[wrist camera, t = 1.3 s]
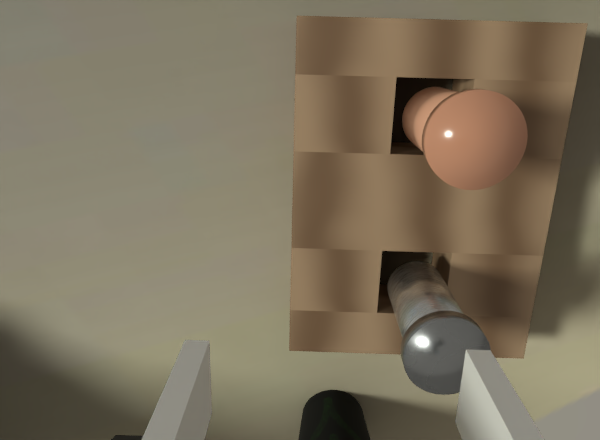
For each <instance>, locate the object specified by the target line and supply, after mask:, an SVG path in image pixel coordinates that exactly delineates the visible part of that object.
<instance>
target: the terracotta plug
mask: <svg viewBox="0 0 600 440" xmlns="http://www.w3.org/2000/svg"><path fill="white" fill-rule="evenodd" d="M402 125H403V130H404V132H405V134H406V136H407V138H408V139H409V140H410V141H411V142H412V143H413V144H414V145H415V146H417V147H418V148H419V149H420V150H421V151H422V152H423V154H424V157H425V160H426V162H427V164H428V166H429V167H430V168H431V170H432V171H433V172H434V173H435V174H436V175H437V176H438V177H439V178H440V179H441V180H443V181H444V182H445V183H447V184H449V185H451V186H453V187H456V188H459V189H463V190H479V189H484V188H488V187H491V186H493V185H495V184H497V183H499V182H501V181H502V180H504V179H505V178H506V177H508V176H509V175H510V174H511V173H512V172H513V171H514V169H515V168H516V167H517V166H518V164H519V163H520V161H521V159H522V157H523V155H524V152H525V149H526V145H527V137H528V134H527V125H526V121H525V118H524V116H523V114H522V112H521V110H520V109H519V107H518V106H517V105H516V104H515V103H514V102H513V101H512V100H511V99H509V98H508V97H506V96H504V95H503V94H500V93H498V92H494V91H490V90H485V89H466V90H462V91H459V92H458V91H454V90H450V89H446V88H442V87H429V88H425V89H423V90H421V91H419V92H417V93H416V94H415V95H413V96H412V97H411V98H410V100H409V101H408V102H407V104H406V106H405V108H404V111H403V116H402Z"/></svg>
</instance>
